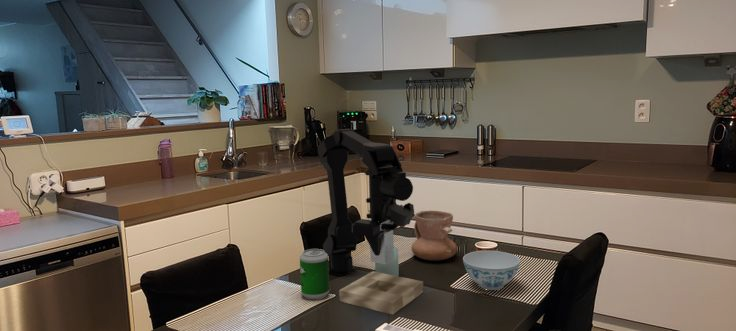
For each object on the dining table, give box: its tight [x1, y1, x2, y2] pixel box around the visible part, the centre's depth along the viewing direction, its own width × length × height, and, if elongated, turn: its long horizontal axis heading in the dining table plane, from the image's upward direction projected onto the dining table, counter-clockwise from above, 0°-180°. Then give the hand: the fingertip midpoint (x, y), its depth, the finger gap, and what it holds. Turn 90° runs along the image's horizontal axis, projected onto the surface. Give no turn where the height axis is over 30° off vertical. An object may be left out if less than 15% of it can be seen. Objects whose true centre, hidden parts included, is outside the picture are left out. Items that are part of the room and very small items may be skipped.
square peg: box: [369, 228, 395, 264], centre depth 136 cm, size 4×4×8 cm
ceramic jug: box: [411, 209, 458, 262], centre depth 168 cm, size 18×14×14 cm
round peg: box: [374, 246, 400, 277], centre depth 152 cm, size 7×7×8 cm
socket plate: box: [338, 270, 424, 315], centre depth 137 cm, size 16×16×3 cm
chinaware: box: [462, 250, 521, 291], centre depth 142 cm, size 15×15×8 cm
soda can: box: [299, 248, 330, 300], centre depth 139 cm, size 8×8×12 cm
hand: (381, 252), depth 136 cm, fingers closed on square peg, 4 cm apart
